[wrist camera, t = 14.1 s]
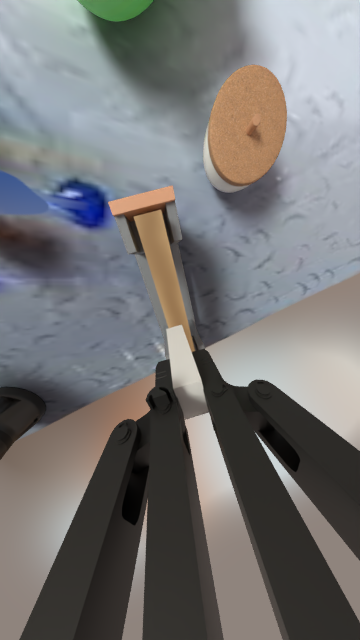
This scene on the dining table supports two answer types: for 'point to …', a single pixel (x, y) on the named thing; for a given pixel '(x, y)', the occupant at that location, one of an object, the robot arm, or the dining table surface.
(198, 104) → the dining table surface
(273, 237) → the dining table surface
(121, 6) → the toy bird
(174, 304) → the slat
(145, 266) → the stand
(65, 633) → the robot arm
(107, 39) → the dining table surface
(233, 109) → the lidded jar
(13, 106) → the dining table surface
